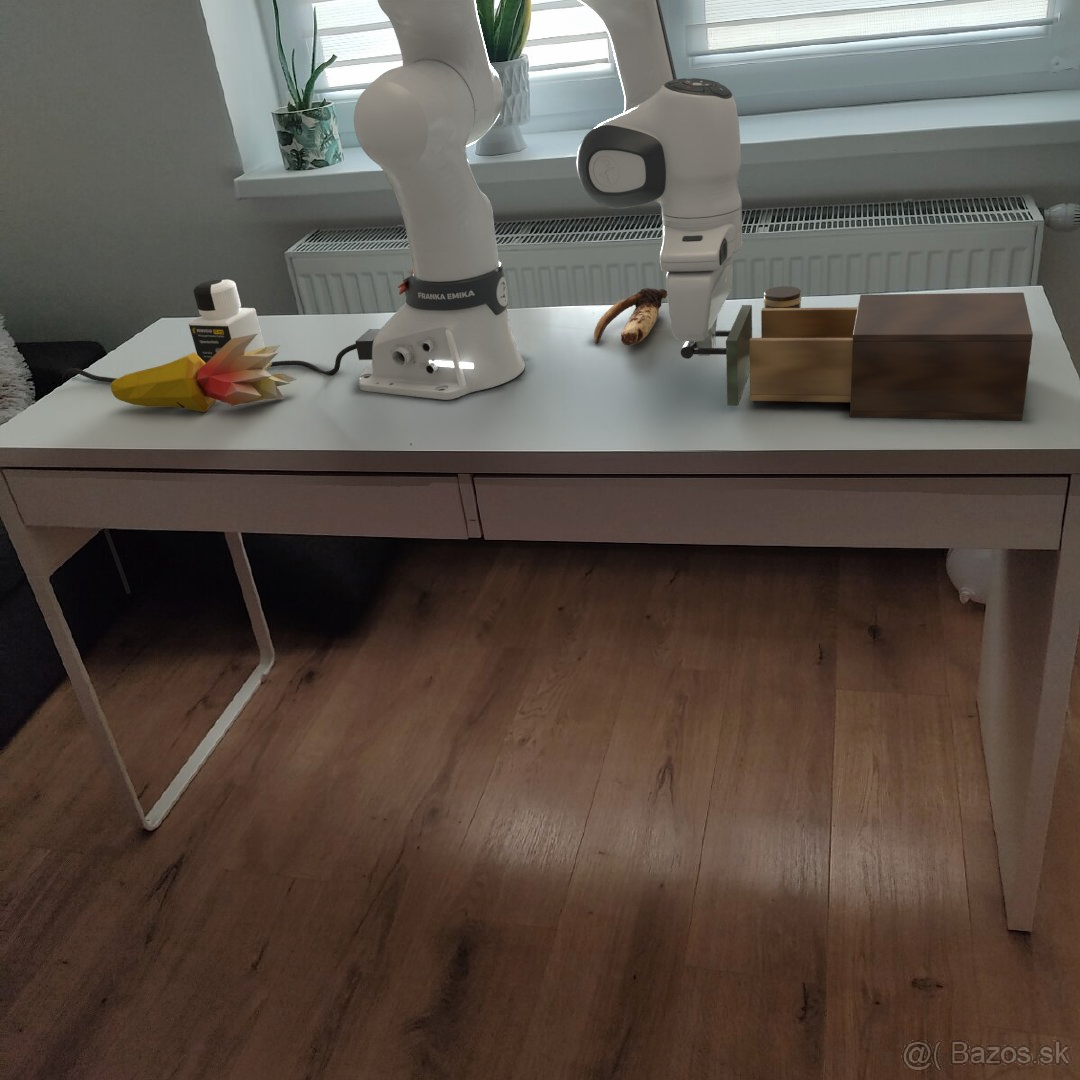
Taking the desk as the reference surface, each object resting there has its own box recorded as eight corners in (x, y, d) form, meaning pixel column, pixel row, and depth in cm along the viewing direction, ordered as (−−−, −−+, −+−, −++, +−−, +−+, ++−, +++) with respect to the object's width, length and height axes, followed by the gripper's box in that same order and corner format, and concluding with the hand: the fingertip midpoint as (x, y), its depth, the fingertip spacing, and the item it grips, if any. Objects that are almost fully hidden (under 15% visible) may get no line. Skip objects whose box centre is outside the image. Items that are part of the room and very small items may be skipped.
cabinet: (849, 417, 118) (852, 334, 113) (856, 371, 129) (859, 294, 125) (1022, 420, 113) (1033, 334, 108) (1014, 372, 124) (1023, 292, 119)
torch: (136, 432, 148) (301, 399, 143) (102, 428, 141) (275, 393, 135) (127, 373, 148) (291, 338, 143) (92, 366, 140) (265, 329, 135)
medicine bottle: (200, 368, 158) (177, 289, 152) (229, 351, 163) (208, 274, 157) (239, 370, 155) (217, 290, 149) (267, 353, 161) (247, 275, 155)
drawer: (678, 404, 124) (674, 340, 120) (697, 365, 134) (694, 305, 131) (877, 408, 117) (880, 340, 114) (881, 366, 127) (884, 303, 124)
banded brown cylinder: (762, 356, 137) (761, 297, 133) (766, 344, 141) (766, 286, 137) (798, 356, 136) (799, 297, 132) (802, 344, 139) (803, 285, 135)
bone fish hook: (611, 315, 160) (584, 355, 145) (608, 284, 157) (579, 322, 142) (673, 311, 157) (651, 352, 142) (670, 280, 155) (648, 318, 140)
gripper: (691, 212, 129) (695, 322, 136) (655, 261, 113) (662, 383, 119) (744, 210, 127) (745, 321, 134) (715, 259, 111) (718, 384, 117)
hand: (706, 351), depth 127 cm, fingers closed
